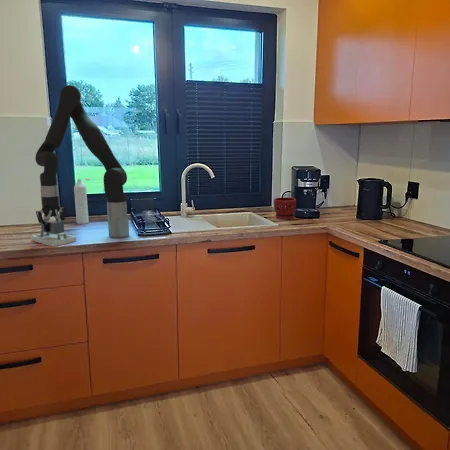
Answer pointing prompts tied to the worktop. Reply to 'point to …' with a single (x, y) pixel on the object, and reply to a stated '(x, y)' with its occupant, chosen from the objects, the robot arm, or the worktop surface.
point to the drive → (54, 227)
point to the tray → (53, 238)
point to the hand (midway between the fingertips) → (52, 230)
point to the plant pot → (280, 207)
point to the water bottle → (81, 202)
